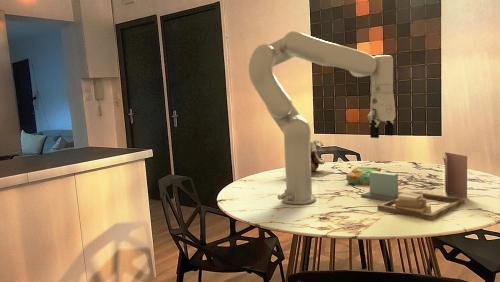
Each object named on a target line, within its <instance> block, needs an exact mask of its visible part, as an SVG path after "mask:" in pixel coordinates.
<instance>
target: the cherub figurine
mask: <svg viewBox="0 0 500 282" xmlns="http://www.w3.org/2000/svg"><path fill="white" fill-rule="evenodd" d="M322 147H324V142H323V141H322V140H319V139H314V140H312V141H310V158H311V178H324V176H325V177H327V176H329V175H332V174H334V171H331V170H330V171H328V170H327V171H326V170H325V171H324V170H318V168H319V166H320V165H324V164H325V163H326V161H325V159H324V158H321V157H319V156H318V153H317V152H318V149H322Z"/></svg>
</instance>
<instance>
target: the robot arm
mask: <svg viewBox="0 0 500 282" xmlns="http://www.w3.org/2000/svg"><path fill="white" fill-rule="evenodd" d="M293 58H298V59H300V60H301V59H302V60H305V61H308V62H310V63H313V64H316V65H320V66H324V67H334V68H339V69H342V70H343V69H344V70H347V71H349V73H350V74H351V75H352V76H353V77H357V78H362V77H367V76H371V77H370V78H371V79H370V80H371V92H370V93H371V97H370V107H369V108H370V109H369V113H368V114H367V120H368V121H367V122H368V124H369V128H370V138H372V139H379V138H380V127H379V124H380V122H385V124H384V135H385V136H394V126H395V125H394V124H395V121H396V115H397V113H396V103H395V102H396V101H395V96H394V58H393V56H392V55H388V54H387V55H386V54H382V55H375V56H373V55H371V54H368V53H367V52H364V51H362V50H358V49H355V48H352V47H349V46H348V47H347V46H344V45H340V44H337V43H333V42H329V41H325V40H323V39H320V38H316V37H313V36H311V35H308V34H306V33H305V34H304V33H303V32H299V31H296V30H295V31H289V32H287V33H286V34H285V35H284V36H283V37H281V38H280V39H277V40H276V41H275V40H274V42H272V43H269V44H266V43H262V44H260V45H258V46H257V47H256V48H255V49H254V50H253V52H252V54H251V56H250V59H249V62H248V75H249V79H250V82H251V84H252V86H253V88H254V89H255V91H256V92H257V94H258V95H259V97H260V98H261V100H262V102H263V104H264V105H265V107H266V110H267V111H268V113H269V115H270V116H271V118H272V119H273V121H274V122H275V124H276V126H278V128H279V129H280V131H281V132H282V133H283V136H284V137H283V139H284V144H283V145H284V147H283V148H284V163H285V164H284V165H285V167H284V168H285V184H286V185H285V186H286V187H285V188H286V189H284V192H283V193H280V194H278V195H277V199H278V200H279V201H280V200H281V201H283V202H284V203H286V204H290V205H306V204H307V205H308V204H312V203H314V202H316V201H317V196H316V195H315V194H313V189H312V188H313V186H312V177H311V158H310V143H311V135H312V134H311V133H312V132H311V126H310V124H309V123H308V121H307V119H305V118H303V117H302V116H301V114H300V113H299V112H298V110H297V108H296V107H295V106H294V104H293V100H292V99H291V96H289V95H288V94H287V92H286V91H285V89H284V88H283V87H282V85H281V84H280V82H279V80H278V79H277V77H276V76H275V74H274V71H273V67H275V66H278V65H281V64H283V63H284V62H287V61H288V60H291V59H293Z"/></svg>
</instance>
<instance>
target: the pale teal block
mask: <svg viewBox="0 0 500 282" xmlns="http://www.w3.org/2000/svg"><path fill="white" fill-rule="evenodd" d="M369 174H370V184H369V192H370V193H374V194H380V195H386V196H392V197H395V196H397V195H398V192H399V173H393V172H387V171H386V172H385V171H380V172H379V171H372V172H369Z"/></svg>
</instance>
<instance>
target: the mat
mask: <svg viewBox="0 0 500 282" xmlns="http://www.w3.org/2000/svg"><path fill="white" fill-rule="evenodd" d="M402 193H404V191H398V195H400V194H402ZM398 195H397V196H395V197H392V196H386V195H380V194H374V193H370V191H368V192H365V193H363V194H361V195H360V197H361V198H366V199H372V200H377V201H383V202H387V201H390V200H392V199H395V198H398Z"/></svg>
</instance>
